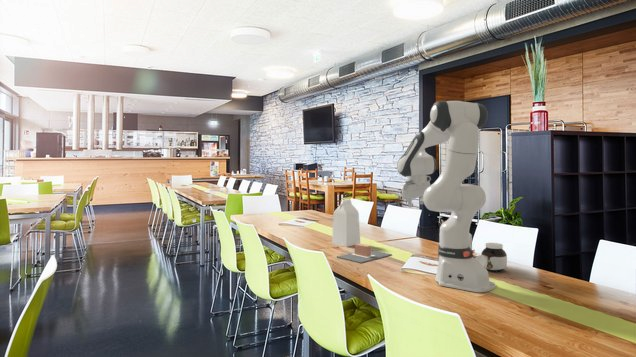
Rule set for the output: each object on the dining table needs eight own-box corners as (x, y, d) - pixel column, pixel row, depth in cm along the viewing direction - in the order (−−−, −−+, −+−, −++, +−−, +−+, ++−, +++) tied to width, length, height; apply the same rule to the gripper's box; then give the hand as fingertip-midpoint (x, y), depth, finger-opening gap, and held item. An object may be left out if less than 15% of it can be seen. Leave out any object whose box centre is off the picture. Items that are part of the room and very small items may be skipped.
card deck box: (359, 243, 207) (371, 245, 201) (359, 252, 207) (371, 255, 201) (354, 244, 205) (366, 246, 199) (354, 254, 205) (366, 256, 199)
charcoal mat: (391, 255, 205) (391, 254, 205) (360, 263, 188) (360, 262, 188) (367, 250, 216) (367, 249, 216) (336, 257, 200) (336, 256, 200)
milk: (346, 246, 225) (346, 200, 224) (332, 243, 234) (331, 199, 233) (360, 243, 234) (360, 199, 232) (346, 240, 242) (346, 198, 241)
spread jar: (509, 270, 175) (509, 244, 174) (498, 276, 167) (498, 248, 167) (482, 265, 184) (482, 240, 183) (470, 270, 176) (470, 244, 175)
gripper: (409, 182, 192) (409, 210, 194) (432, 177, 206) (432, 203, 208) (398, 180, 197) (398, 208, 199) (421, 175, 211) (421, 201, 213)
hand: (416, 205), depth 204 cm, fingers open, 8 cm apart
